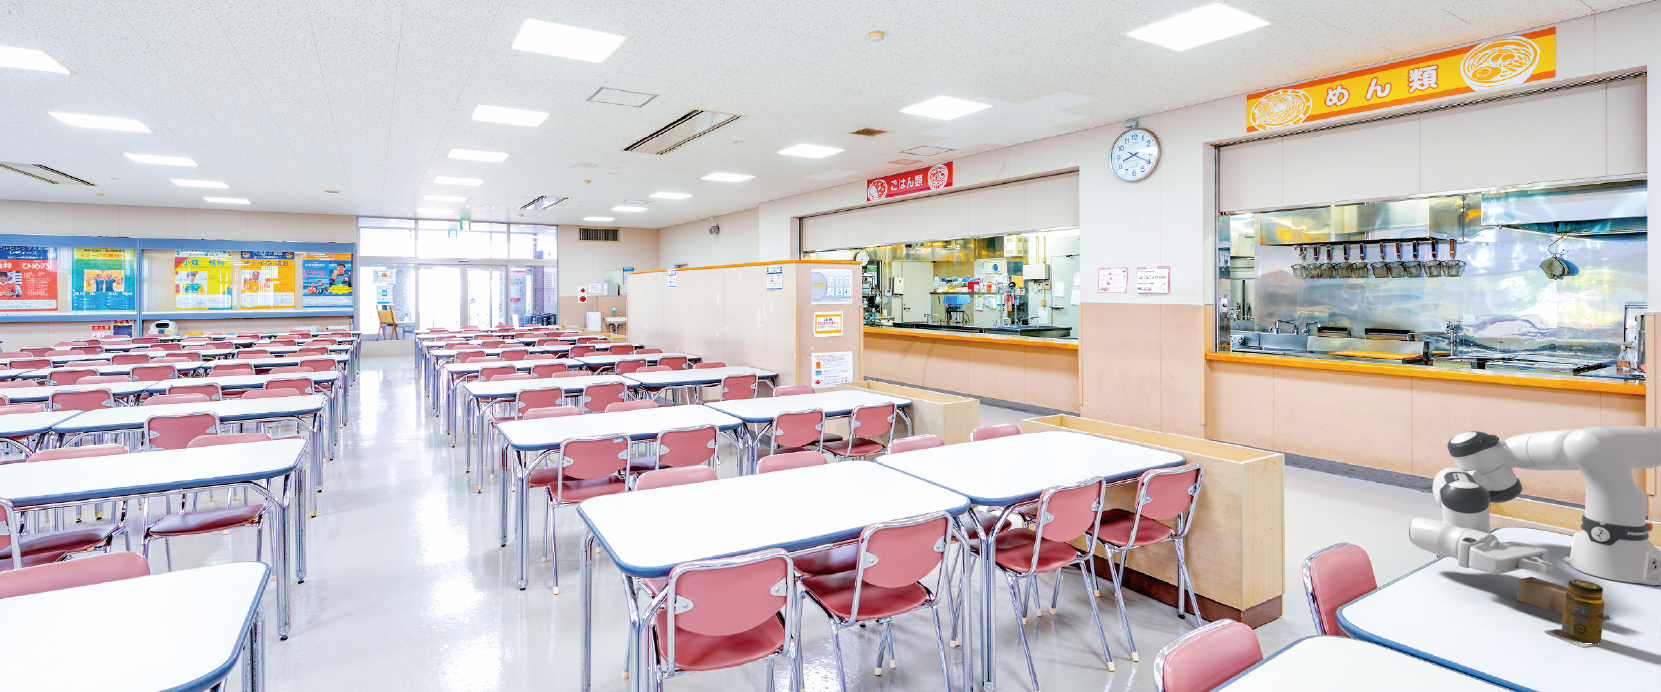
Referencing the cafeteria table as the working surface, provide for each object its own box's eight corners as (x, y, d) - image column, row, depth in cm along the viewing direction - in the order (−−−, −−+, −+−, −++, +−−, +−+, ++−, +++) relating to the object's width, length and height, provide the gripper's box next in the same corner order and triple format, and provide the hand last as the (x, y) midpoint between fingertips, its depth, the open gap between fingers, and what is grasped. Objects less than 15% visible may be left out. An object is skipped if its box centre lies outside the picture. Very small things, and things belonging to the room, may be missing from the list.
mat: (1549, 598, 182) (1549, 596, 182) (1609, 617, 172) (1609, 615, 171) (1513, 607, 177) (1513, 605, 177) (1573, 627, 167) (1573, 625, 167)
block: (1531, 576, 181) (1601, 597, 169) (1529, 596, 182) (1600, 618, 170) (1518, 579, 180) (1589, 600, 167) (1517, 599, 180) (1587, 622, 168)
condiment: (1612, 643, 159) (1617, 588, 158) (1582, 647, 158) (1587, 592, 157) (1571, 628, 167) (1576, 575, 166) (1542, 632, 165) (1546, 579, 164)
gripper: (1505, 556, 193) (1574, 575, 180) (1454, 567, 185) (1522, 588, 173) (1507, 532, 192) (1576, 549, 179) (1456, 542, 185) (1524, 561, 172)
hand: (1549, 568), depth 176 cm, fingers closed
